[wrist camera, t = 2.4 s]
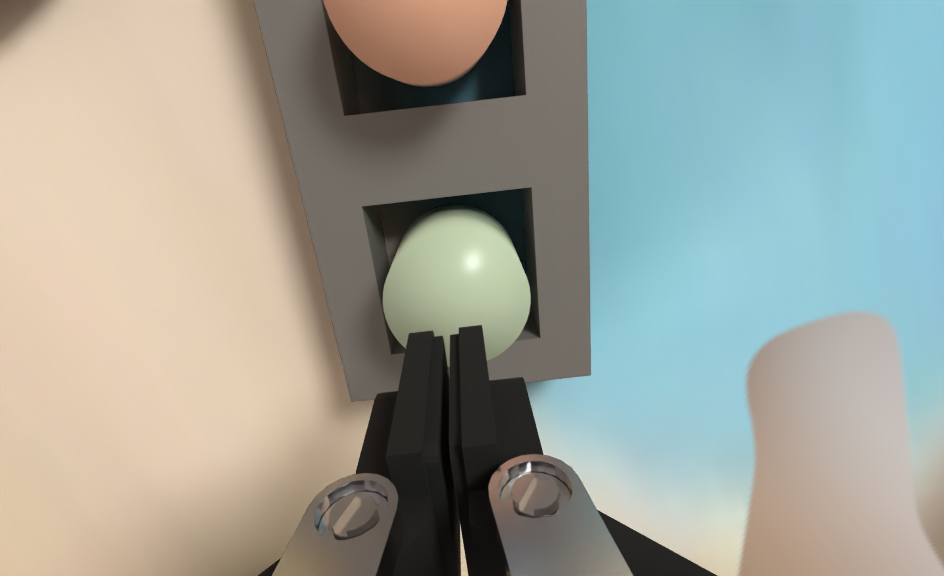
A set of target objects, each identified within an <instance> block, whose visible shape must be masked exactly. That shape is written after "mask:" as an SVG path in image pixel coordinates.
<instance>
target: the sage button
mask: <svg viewBox="0 0 944 576" xmlns="http://www.w3.org/2000/svg"><path fill="white" fill-rule="evenodd" d="M530 304H531V294H530V287H529V283H528V280H527V277H526V274H525V272H524V269H523V267H522V264H521V262H520V260H519V257H518V255H517V252H516V250H515V248H514V245H513V243H512V240H511V238H510V236H509V234H508V233H507V231H506V229H505V228H504V227H503V226H502V225H501V223H500V222H499V221H497V220H496V219H495V218H494V217H493V216H491V215H490V214H488V213H486V212H484V211H482V210H480V209H478V208H475V207H471V206H466V205H447V206H441V207H438V208H435V209H432V210H430V211H428V212H426V213H425V214H423V215H421V216H420V217H419V218H418V219H416V220H415V221H414V222H413V223H412V224H411V225H410V226H409V228H408V229H407V231H406V232H405V234H404V235H403V238H402V240H401V242H400V244H399V247H398V250H397V252H396V255H395V257H394V260H393V262H392V265H391V268H390V270H389V273H388V275H387V278H386V281H385V284H384V290H383V309H384V314H385V318H386V321H387V323H388V326H389V328H390V330H391V331H392V333H393V335H394V336H395V337H396V339H397V340H398V341H399V343H400V344H401V345H403V346H404V347H405V348H406V345H407V340H408V335H409V333H415V332H424V331H433V332H434V336H443V338H444V344H445V351H446V358H447V365H448V367H450V335H453V334H459V327H468V326H477V325H482V329H483V336H484V344H485V351H486V359H487V361H488V360H491V359H493V358H494V357H496V356H498V355H500V354H501V353H502V352H504V351H505V350H506V349H507V348H508V347H510V346H511V345H512V344H513V343H514V341H515V340H516V339H517V338H518V336H519V335H520V333H521V332H522V330H523V328H524V326H525V324H526V322H527V318H528V315H529V311H530Z"/></svg>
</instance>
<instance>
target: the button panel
mask: <svg viewBox="0 0 944 576" xmlns="http://www.w3.org/2000/svg"><path fill="white" fill-rule="evenodd" d="M254 5H255V9H256V13H257V17H258V21H259V25H260V29H261V33H262V37H263V41H264V45H265V50H266V54H267V58H268V62H269V66H270V70H271V74H272V78H273V82H274V86H275V90H276V95H277V99H278V103H279V107H280V111H281V115H282V119H283V123H284V127H285V131H286V135H287V140H288V144H289V148H290V152H291V156H292V160H293V164H294V168H295V172H296V176H297V180H298V185H299V189H300V193H301V197H302V201H303V205H304V209H305V213H306V217H307V221H308V225H309V230H310V234H311V238H312V242H313V246H314V250H315V254H316V258H317V262H318V266H319V270H320V274H321V279H322V283H323V287H324V291H325V295H326V299H327V303H328V307H329V311H330V315H331V319H332V324H333V328H334V332H335V336H336V340H337V344H338V348H339V352H340V356H341V360H342V364H343V369H344V373H345V377H346V381H347V385H348V389H349V393H350V397H351V401H352V402H354V401H363V400H372V399H375V398H376V395H377V394H378V393H383V392H392V391H398V388H399V382H400V377H401V372H402V367H403V361H404V356H405V351H406V348H405V347H404V346H403V345H401V344H400V343H399V341H398V340H397V339H396V337H395V336H394V335H393V333H392V331H391V330H390V328H389V326H388V323H387V321H386V318H385V314H384V309H383V290H384V284H385V281H386V278H387V275H388V273H389V270H390V268H389V262H388V257H387V252H386V246H385V241H384V235H383V230H382V224H381V219H380V214H379V208H378V205H380V204H388V203H397V202H406V201H415V200H424V199H432V198H441V197H450V196H459V195H468V194H477V193H485V192H494V191H503V190H512V189H521V191H522V206H523V221H524V236H525V251H526V267H527V280H528V283H529V287H530V294H531V304H530V311H529V315H528V318H527V322H526V324H525V326H524V328H523V330H522V332H521V333H520V335H519V336H518V338H517V339H516V340H515V341H514V343H513V344H512V345H511V346H510V347H508V348H507V349H506V350H505V351H504V352H502V353H501V354H500V355H498V356H496V357H494V358H493V359H491V360H488V361H487V366H488V374H489V380H498V379H507V378H516V377H523V378H524V381H525V383H526V382H535V381H544V380H553V379H562V378H571V377H580V376H589V375H591V343H590V260H589V177H588V94H587V11H586V0H509V10H510V25H511V40H512V55H513V70H514V85H515V96H513V97H504V98H495V99H487V100H478V101H469V102H461V103H452V104H443V105H434V106H426V107H417V108H408V109H400V110H391V111H382V112H374V113H365V114H361V110H360V105H359V99H358V94H357V88H356V83H355V78H354V72H353V67H352V61H351V56H350V50H349V48H348V47H347V46H346V44H345V43H344V42H343V40H342V39H341V37H340V36H339V34H338V33H337V31H336V30H335V28H334V26H333V24H332V22H331V20H330V18H329V15H328V13H327V10H326V7H325V5H324V1H323V0H254ZM448 372H449V378H450V367H448Z"/></svg>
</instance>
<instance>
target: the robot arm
mask: <svg viewBox="0 0 944 576" xmlns="http://www.w3.org/2000/svg"><path fill="white" fill-rule="evenodd" d="M460 524H461V531H462V537H463V544H464V550H465V556H466V563H467V569H468V575H469V576H717V575H715V574H713V573H711V572H709V571H708V570H706V569H704V568H702V567H700V566H699V565H697V564H695V563H693V562H691V561H689V560H688V559H686V558H684V557H682V556H680V555H678V554H677V553H675V552H673V551H671V550H669V549H668V548H666V547H664V546H662V545H660V544H658V543H657V542H655V541H653V540H651V539H649V538H647V537H646V536H644V535H642V534H640V533H638V532H637V531H635V530H633V529H631V528H629V527H627V526H626V525H624V524H622V523H620V522H618V521H616V520H615V519H613V518H611V517H609V516H607V515H606V514H604V513H602V512H600V511H598V510H597V509H596V507H595V505H594V503H593V502H592V500H591V498H590V496H589V494H588V493H587V491H586V489H585V487H584V485H583V483H582V482H581V480H580V478H579V476H578V475H577V474H576V473H575V471H574V470H573V469H572V468H571V467H570V466H569V465H567V464H566V463H564V462H563V461H561V460H559V459H556V458H553V457H551V456H547V455H543V451H542V447H541V443H540V439H539V435H538V432H537V428H536V424H535V420H534V416H533V412H532V408H531V404H530V401H529V397H528V393H527V389H526V385H525V381H524V378H523V377H516V378H507V379H498V380H489V374H488V366H487V359H486V351H485V344H484V336H483V329H482V325H477V326H468V327H459V334H453V335H450V378H449V372H448V365H447V358H446V351H445V344H444V338H443V336H434V332H433V331H424V332H415V333H409V335H408V340H407V345H406V351H405V356H404V361H403V367H402V372H401V377H400V382H399V388H398V391H392V392H383V393H378V394H377V395H376V398H375V401H374V405H373V408H372V412H371V416H370V420H369V424H368V428H367V431H366V435H365V439H364V443H363V447H362V451H361V454H360V458H359V462H358V466H357V470H356V474H353V475H350V476H347V477H344V478H342V479H339V480H337V481H336V482H334V483H332V484H330V485H329V486H327V487H326V488H325V489H324V490H322V491H321V492H320V493H319V494H318V495H317V496H316V497H315V498H314V500H313V501H312V502H311V504H310V505H309V507H308V508H307V510H306V512H305V514H304V516H303V518H302V520H301V522H300V523H299V525H298V527H297V529H296V531H295V533H294V535H293V537H292V539H291V540H290V542H289V544H288V546H287V548H286V550H285V552H284V554H283V556H282V557H281V558H280V559H279V560H278V561H276V562H275V563H274V564H272V565H271V566H270V567H269V568H267V569H266V570H265V571H263V572H262V573H261V574H259V575H258V576H461V557H460Z"/></svg>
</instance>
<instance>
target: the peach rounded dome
mask: <svg viewBox="0 0 944 576" xmlns="http://www.w3.org/2000/svg"><path fill="white" fill-rule="evenodd" d="M323 1H324V5H325V7H326V10H327V13H328V15H329V18H330V20H331V22H332V24H333V26H334V28H335V30H336V31H337V33H338V34H339V36H340V37H341V39H342V40H343V42H344V43H345V44H346V46H347V47H348V48H349V49H350V50H351V51H352V53H354V54H355V55H356V56H357V57H358V58H359V59H360V60H361V61H362V62H364V63H365V64H366V65H368V66H369V67H370V68H372V69H373V70H375V71H377V72H379V73H381V74H382V75H385V76H388V77H390V78H393V79H395V80H398V81H400V82H403V83H405V84H408V85H412V86H416V87H437V86H443V85H446V84H449V83H452V82H454V81H456V80H458V79H460V78H461V77H462V76H464V75H465V74H467V73H468V72H469V71H470V70H471V69H472V68H473V67H474V66H475V65H476V64H477V63H478V62H479V60H480V59H481V58H482V56H483V55H484V53H485V51H486V50H487V48H488V46H489V45H490V43H491V41H492V40H493V38H494V36H495V35H496V33H497V30H498V28H499V26H500V24H501V22H502V19H503V16H504V13H505V9H506V5H507V0H323Z"/></svg>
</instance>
